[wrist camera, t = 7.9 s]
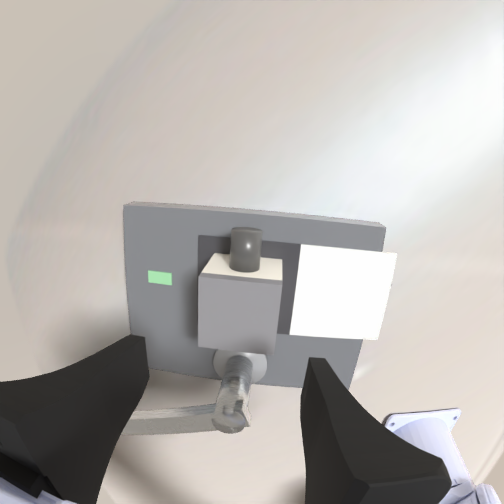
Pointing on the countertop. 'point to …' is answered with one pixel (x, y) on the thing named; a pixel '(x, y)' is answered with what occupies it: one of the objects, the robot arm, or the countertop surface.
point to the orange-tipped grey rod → (203, 408)
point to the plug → (240, 297)
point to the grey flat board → (292, 297)
